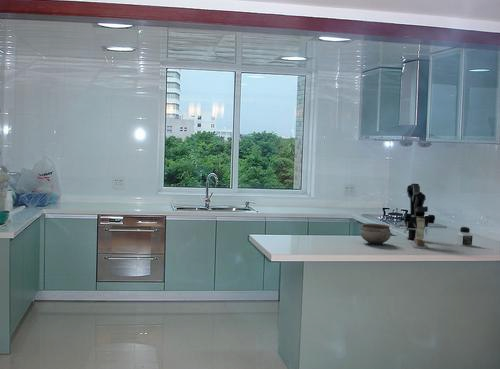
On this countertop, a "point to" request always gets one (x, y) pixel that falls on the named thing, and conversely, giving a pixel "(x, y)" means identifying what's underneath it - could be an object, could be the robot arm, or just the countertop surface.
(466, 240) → the medicine bottle
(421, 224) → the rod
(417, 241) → the flat rectangular plate
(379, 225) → the cooking pot
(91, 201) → the countertop surface
